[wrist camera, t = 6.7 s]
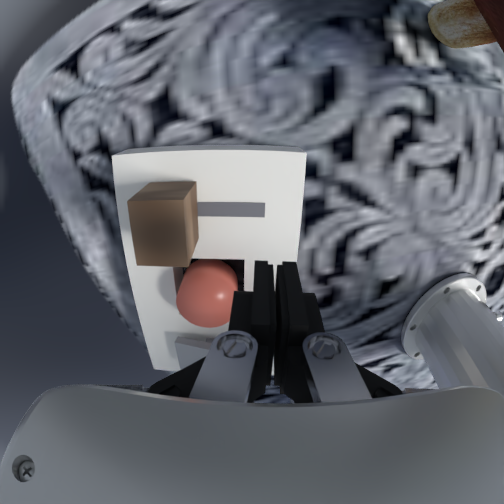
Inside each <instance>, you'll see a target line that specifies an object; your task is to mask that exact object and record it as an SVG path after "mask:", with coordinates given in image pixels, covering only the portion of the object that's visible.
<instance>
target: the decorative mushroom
mask: <svg viewBox="0 0 504 504" xmlns="http://www.w3.org/2000/svg"><path fill="white" fill-rule="evenodd" d="M428 23H429V27H430V29H431V31H432V33H433V34H434V36H435V37H436V38H437V39H438V40H439V41H440V42H442V43H443V44H444V45H446V46H449V47H451V48H466V47H473V46H478V45H483V44H490V43H493V42H498V44H499V45H500V47H501V49H502V50H503V52H504V0H448V1H444V2H441V3H438V4H436V5H434V6H433V7H432V8H431V10H430V11H429V13H428Z"/></svg>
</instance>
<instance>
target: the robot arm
mask: <svg viewBox="0 0 504 504" xmlns="http://www.w3.org/2000/svg"><path fill="white" fill-rule="evenodd" d="M501 320H502V313H501V312H500V311H499V312H494V313H493V312H492V311H491V310H490V309H489V308H488V306H487V305H486V289H485V287H484V285H483V283H482V282H481V281H480V280H479V279H478V278H477V277H476V276H474V275H472V274H468V273H462V274H457V275H453V276H451V277H448V278H446V279H444V280H442V281H441V282H439V283H438V284H436V285H435V286H433V287H432V288H431V289H430V290H429V291H427V292H426V293H425V294H424V295H423V296H422V297H421V298H420V299H419V301H418V302H417V303H416V304H415V306H414V307H413V308H412V310H411V311H410V313H409V315H408V316H407V318H406V320H405V323H404V325H403V328H402V332H401V342H402V346H403V348H404V350H405V352H406V353H407V354H408V355H409V356H410V357H411V358H413V359H418V360H425V362H426V364H427V366H428V367H429V369H430V371H431V373H432V375H433V377H434V379H435V381H436V383H437V385H438V387H439V389H415V388H405V389H404V391H401V390H400V389H399V388H398V387H396V386H395V385H394V384H392V383H390V382H388V381H386V380H385V379H383V378H381V377H379V376H378V375H376V374H374V373H372V372H370V371H369V370H367V369H365V368H363V367H362V366H360V365H358V364H356V363H355V362H354V360H353V358H352V357H351V355H350V353H349V351H348V349H347V347H346V345H345V343H344V342H343V341H342V339H340V338H339V337H338V336H335V335H333V334H330V333H325V331H324V327H323V323H322V319H321V315H320V311H319V307H318V303H317V299H316V295H315V294H314V293H302V288H301V283H300V278H299V273H298V269H297V264H296V262H288V261H283V262H282V265H277V271H276V284H275V286H274V270H273V264H268V261H261V260H255V264H254V283H253V291H234V295H233V301H232V308H231V315H230V321H229V328H228V331H226V332H223V333H221V334H219V335H218V336H217V337H215V339H214V340H213V342H212V344H211V346H210V349H209V351H208V353H207V356H205V357H204V358H202V359H200V360H198V361H196V362H194V363H193V364H191V365H189V366H187V367H185V368H183V369H181V370H179V371H177V372H176V373H174V374H172V375H170V376H168V377H166V378H164V379H162V380H160V381H158V382H156V383H155V384H153V385H152V386H151V387H150V388H143V385H67V386H61V387H56V388H52V389H50V390H47V391H45V392H44V393H43V394H42V395H40V396H39V397H38V398H37V399H36V400H35V401H34V403H33V404H32V405H31V407H30V408H29V409H28V411H27V412H26V414H25V415H24V417H23V419H22V420H21V422H20V424H19V426H18V427H17V429H16V431H15V433H14V435H13V437H12V439H11V441H10V443H9V445H8V447H7V449H6V452H5V454H4V456H3V459H2V461H1V464H0V504H504V327H503V326H502V325H501V324H500V321H501ZM273 356H274V385H275V386H280V394H285V395H286V396H288V397H289V398H290V399H291V404H272V403H254V402H255V400H256V399H257V398H259V397H260V396H261V395H263V394H264V393H265V387H266V385H270V382H271V374H272V365H273Z"/></svg>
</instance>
